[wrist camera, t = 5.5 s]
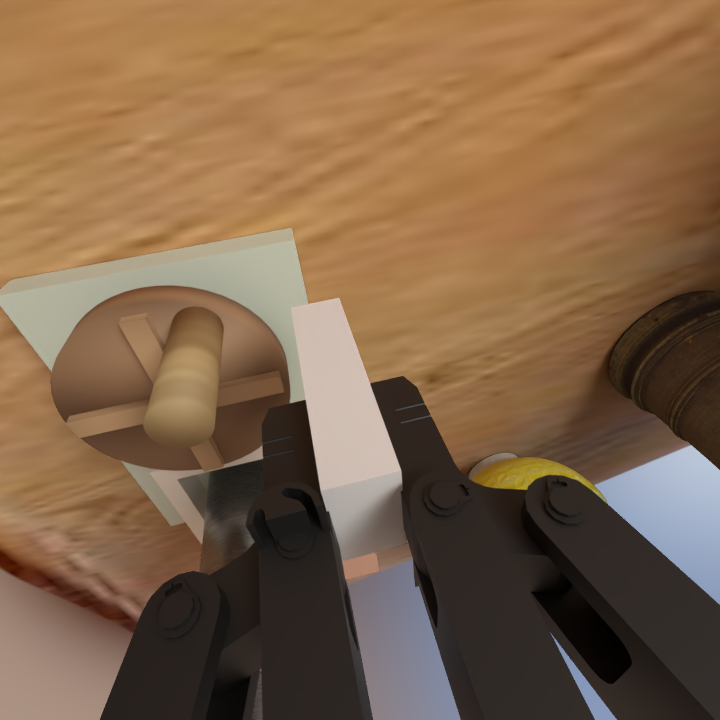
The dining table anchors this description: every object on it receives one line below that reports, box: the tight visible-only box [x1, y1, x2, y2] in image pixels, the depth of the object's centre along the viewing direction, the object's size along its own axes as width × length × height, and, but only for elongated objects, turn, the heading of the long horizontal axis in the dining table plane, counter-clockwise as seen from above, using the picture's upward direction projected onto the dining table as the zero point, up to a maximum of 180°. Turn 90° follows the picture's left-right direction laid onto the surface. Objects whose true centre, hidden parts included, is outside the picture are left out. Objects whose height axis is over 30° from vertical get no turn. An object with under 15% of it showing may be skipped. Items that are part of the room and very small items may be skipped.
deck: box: [0, 228, 308, 544], centre depth 22 cm, size 18×12×4 cm
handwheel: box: [51, 285, 290, 472], centre depth 15 cm, size 9×9×6 cm
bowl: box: [468, 453, 607, 503], centre depth 32 cm, size 11×12×6 cm
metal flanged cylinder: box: [200, 459, 264, 720], centre depth 19 cm, size 5×5×15 cm
